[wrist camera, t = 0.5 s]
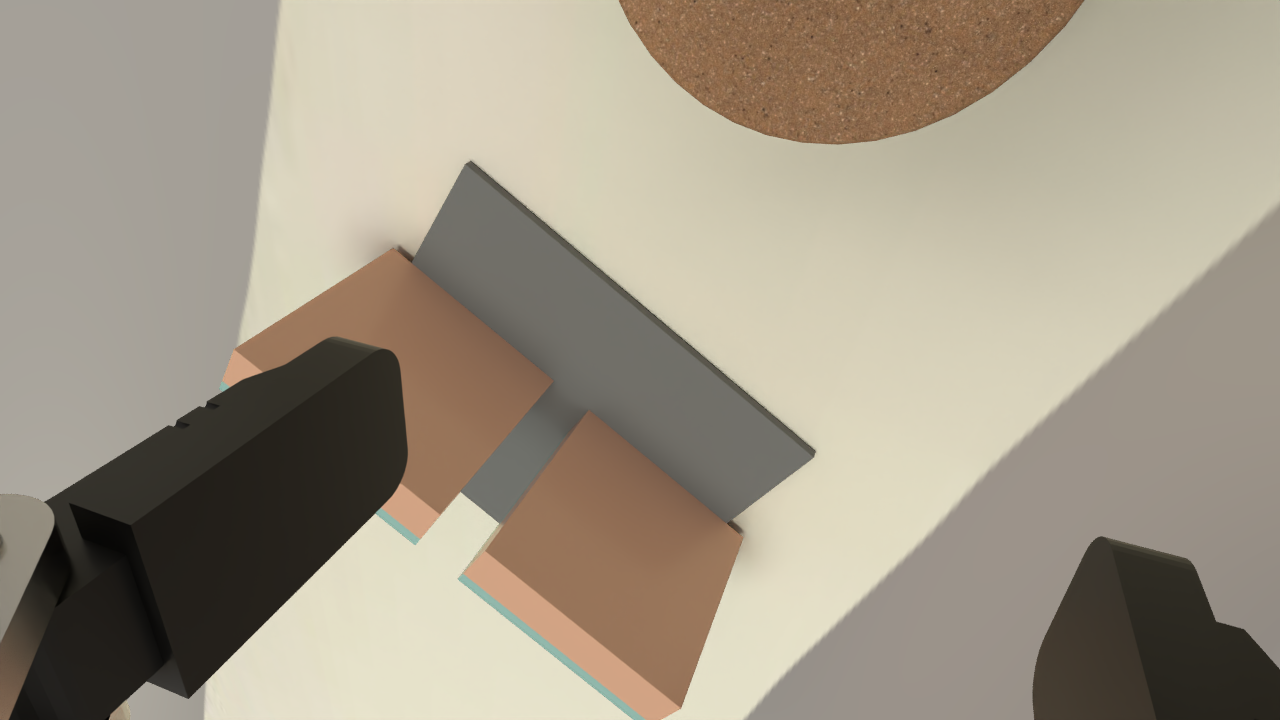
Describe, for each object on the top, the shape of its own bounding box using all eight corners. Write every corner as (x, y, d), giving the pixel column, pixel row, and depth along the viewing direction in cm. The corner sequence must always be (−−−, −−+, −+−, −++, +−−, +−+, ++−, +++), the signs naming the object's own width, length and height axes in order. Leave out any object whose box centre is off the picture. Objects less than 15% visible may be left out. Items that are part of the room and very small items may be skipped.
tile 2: (589, 409, 34) (485, 551, 27) (743, 537, 35) (681, 708, 28) (563, 438, 36) (457, 579, 29) (711, 560, 36) (644, 728, 29)
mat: (470, 161, 31) (465, 164, 30) (815, 451, 32) (813, 457, 31) (345, 390, 40) (339, 394, 40) (612, 606, 41) (609, 612, 41)
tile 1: (393, 247, 34) (234, 349, 27) (554, 380, 34) (440, 515, 27) (375, 283, 35) (219, 388, 28) (529, 410, 36) (415, 545, 29)
